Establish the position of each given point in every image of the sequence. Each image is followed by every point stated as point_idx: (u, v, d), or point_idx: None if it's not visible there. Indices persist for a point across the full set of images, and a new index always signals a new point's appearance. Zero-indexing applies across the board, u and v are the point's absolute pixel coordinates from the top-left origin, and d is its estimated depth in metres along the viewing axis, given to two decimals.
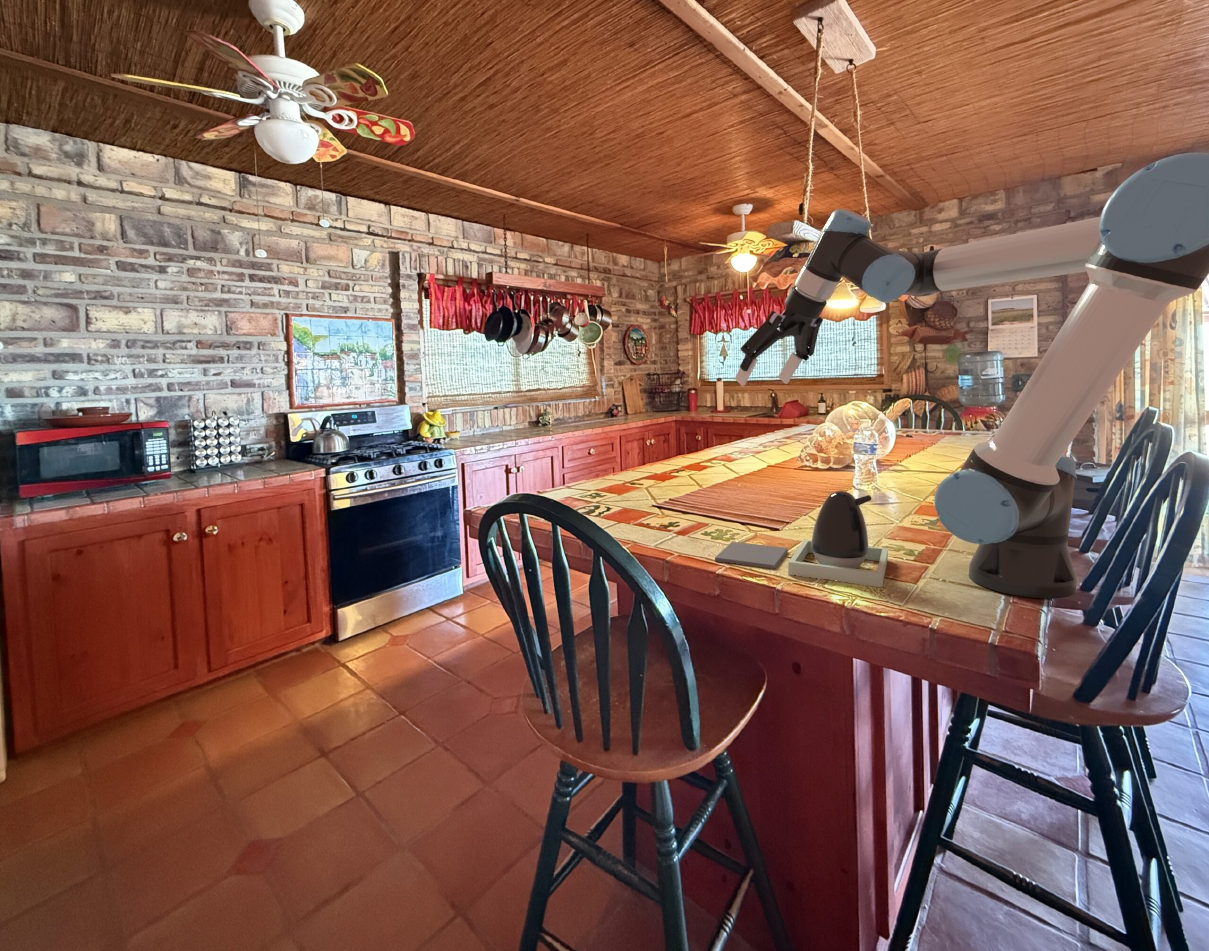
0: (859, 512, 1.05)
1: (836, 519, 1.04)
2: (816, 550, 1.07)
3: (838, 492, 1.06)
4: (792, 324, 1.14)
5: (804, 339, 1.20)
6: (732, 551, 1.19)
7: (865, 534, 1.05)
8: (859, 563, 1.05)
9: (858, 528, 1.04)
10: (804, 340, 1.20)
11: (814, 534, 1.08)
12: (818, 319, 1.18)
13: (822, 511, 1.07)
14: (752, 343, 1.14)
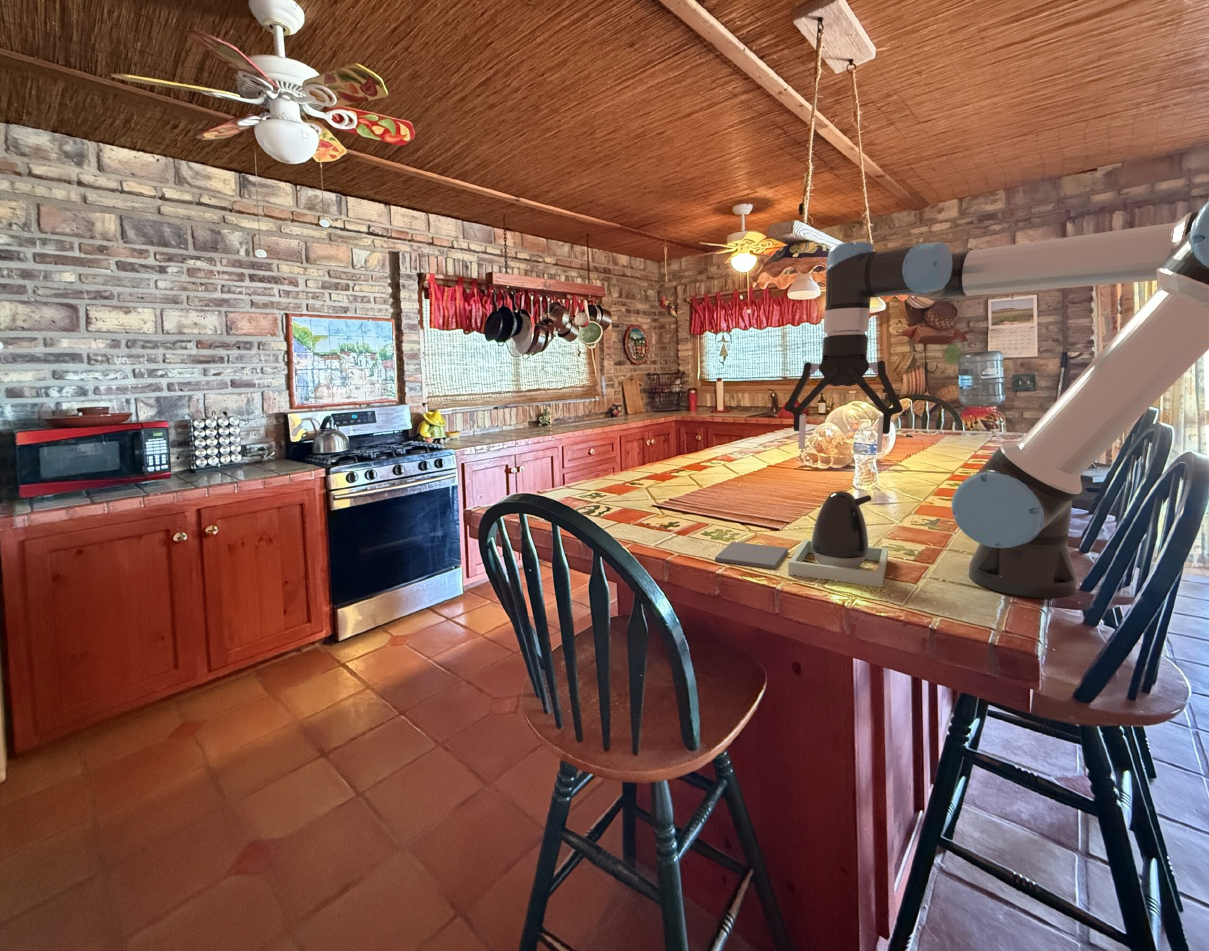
0: (859, 512, 1.05)
1: (836, 519, 1.04)
2: (816, 550, 1.07)
3: (838, 492, 1.06)
4: (831, 370, 1.03)
5: (868, 388, 1.01)
6: (732, 551, 1.19)
7: (865, 534, 1.05)
8: (859, 563, 1.05)
9: (858, 528, 1.04)
10: (869, 390, 1.01)
11: (814, 534, 1.08)
12: (878, 362, 1.00)
13: (822, 511, 1.07)
14: None
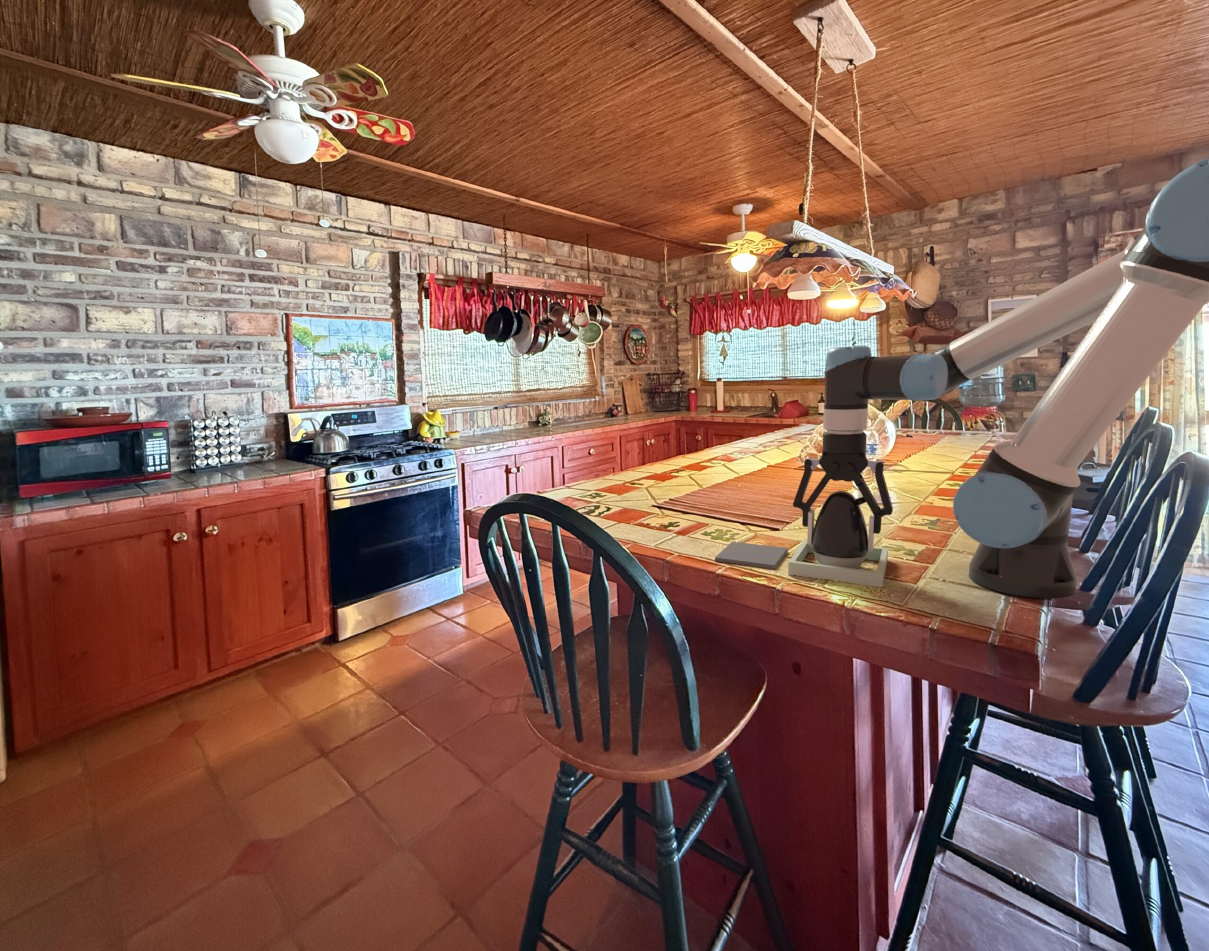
0: (859, 512, 1.05)
1: (836, 519, 1.04)
2: (816, 550, 1.07)
3: (838, 492, 1.06)
4: (830, 466, 1.06)
5: (863, 488, 1.04)
6: (732, 551, 1.19)
7: (865, 534, 1.05)
8: (859, 563, 1.05)
9: (858, 528, 1.04)
10: (864, 489, 1.04)
11: (814, 534, 1.08)
12: (876, 463, 1.02)
13: (822, 511, 1.07)
14: None
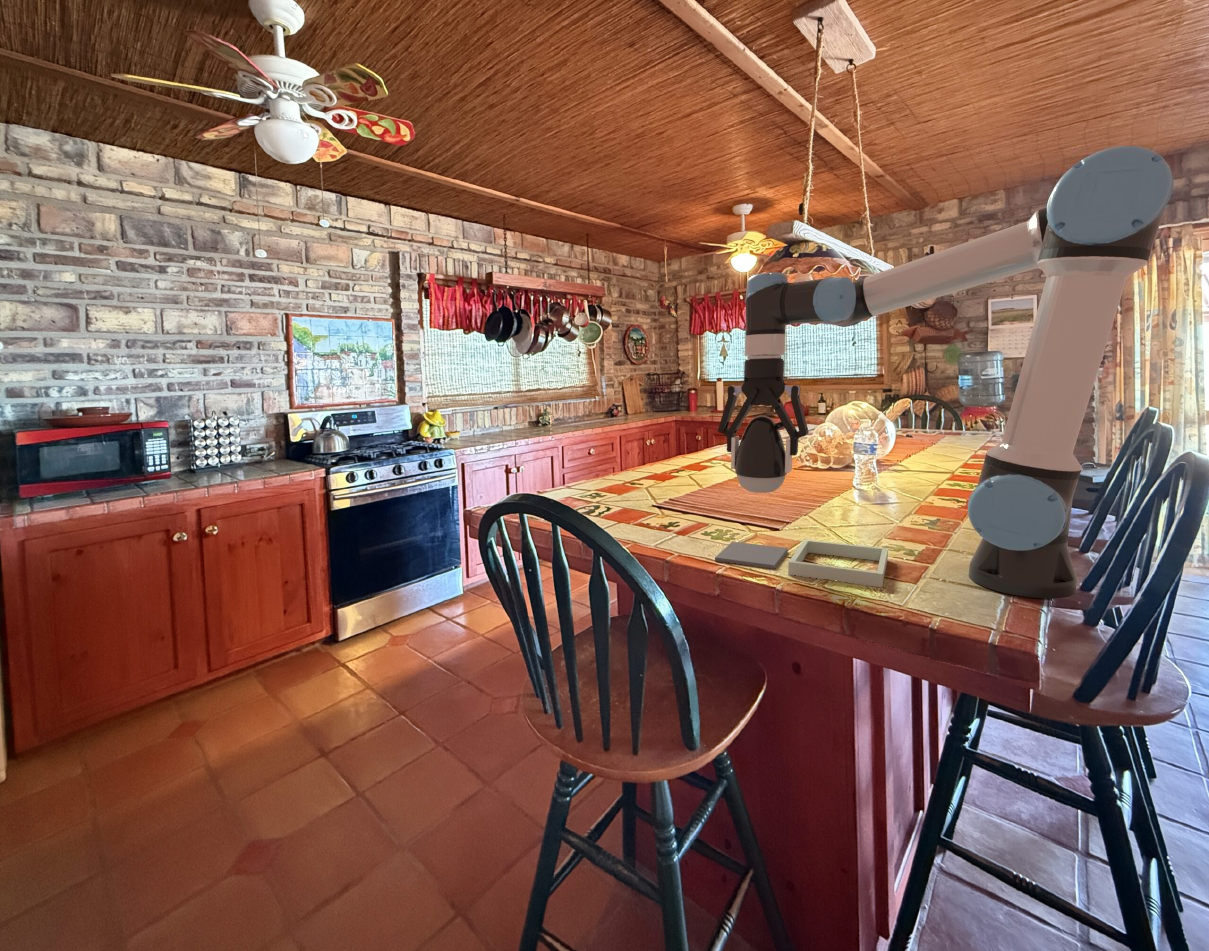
0: (777, 435, 1.10)
1: (755, 441, 1.09)
2: (738, 472, 1.12)
3: (759, 416, 1.11)
4: (751, 391, 1.11)
5: (780, 411, 1.09)
6: (732, 551, 1.19)
7: (783, 456, 1.10)
8: (777, 484, 1.10)
9: (775, 449, 1.09)
10: (781, 412, 1.09)
11: (737, 458, 1.13)
12: (792, 387, 1.07)
13: (743, 435, 1.12)
14: None
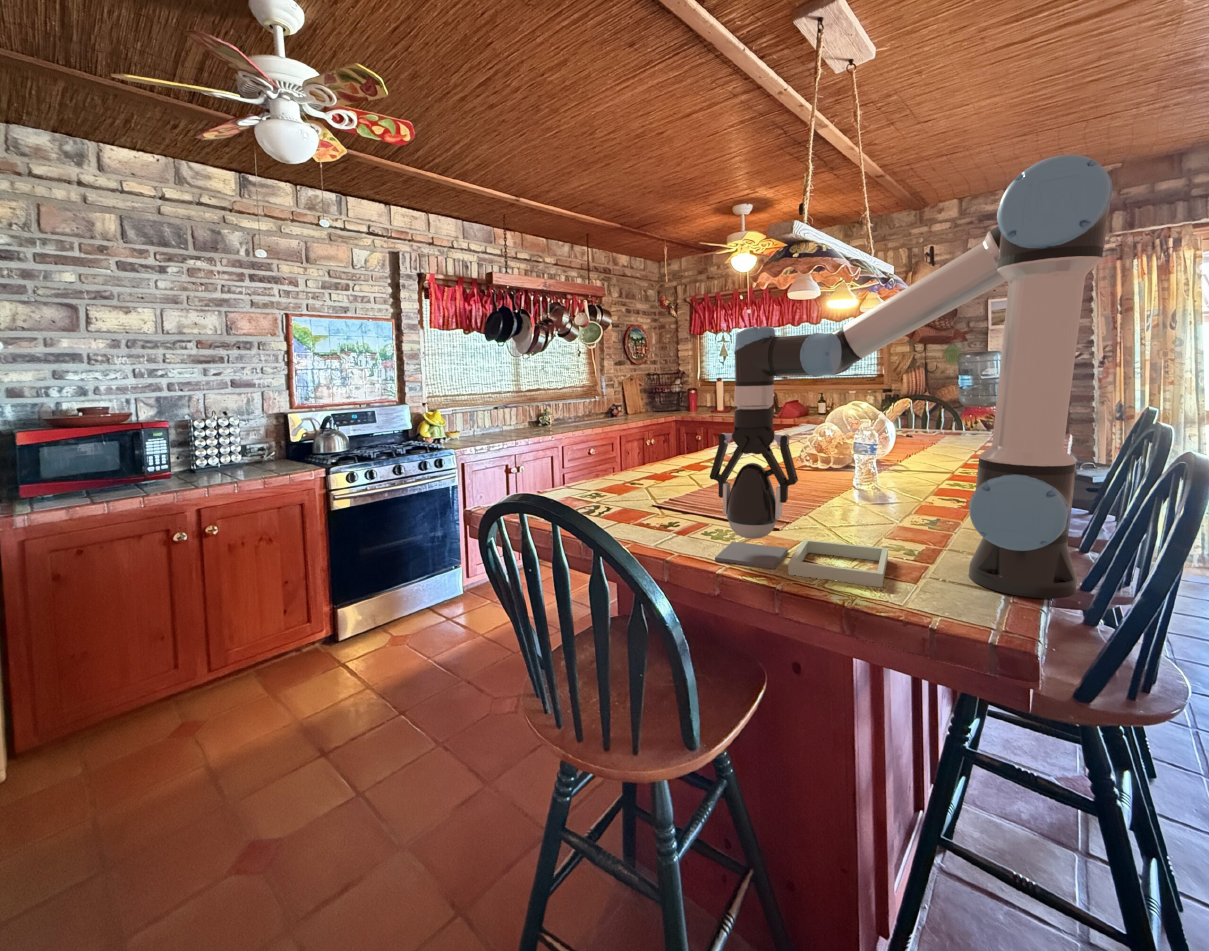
0: (767, 482, 1.12)
1: (745, 489, 1.12)
2: (729, 518, 1.15)
3: (749, 464, 1.14)
4: (741, 440, 1.13)
5: (770, 459, 1.11)
6: (732, 551, 1.19)
7: (773, 503, 1.12)
8: (768, 530, 1.13)
9: (765, 497, 1.11)
10: (771, 461, 1.11)
11: (728, 504, 1.16)
12: None
13: (734, 482, 1.15)
14: None
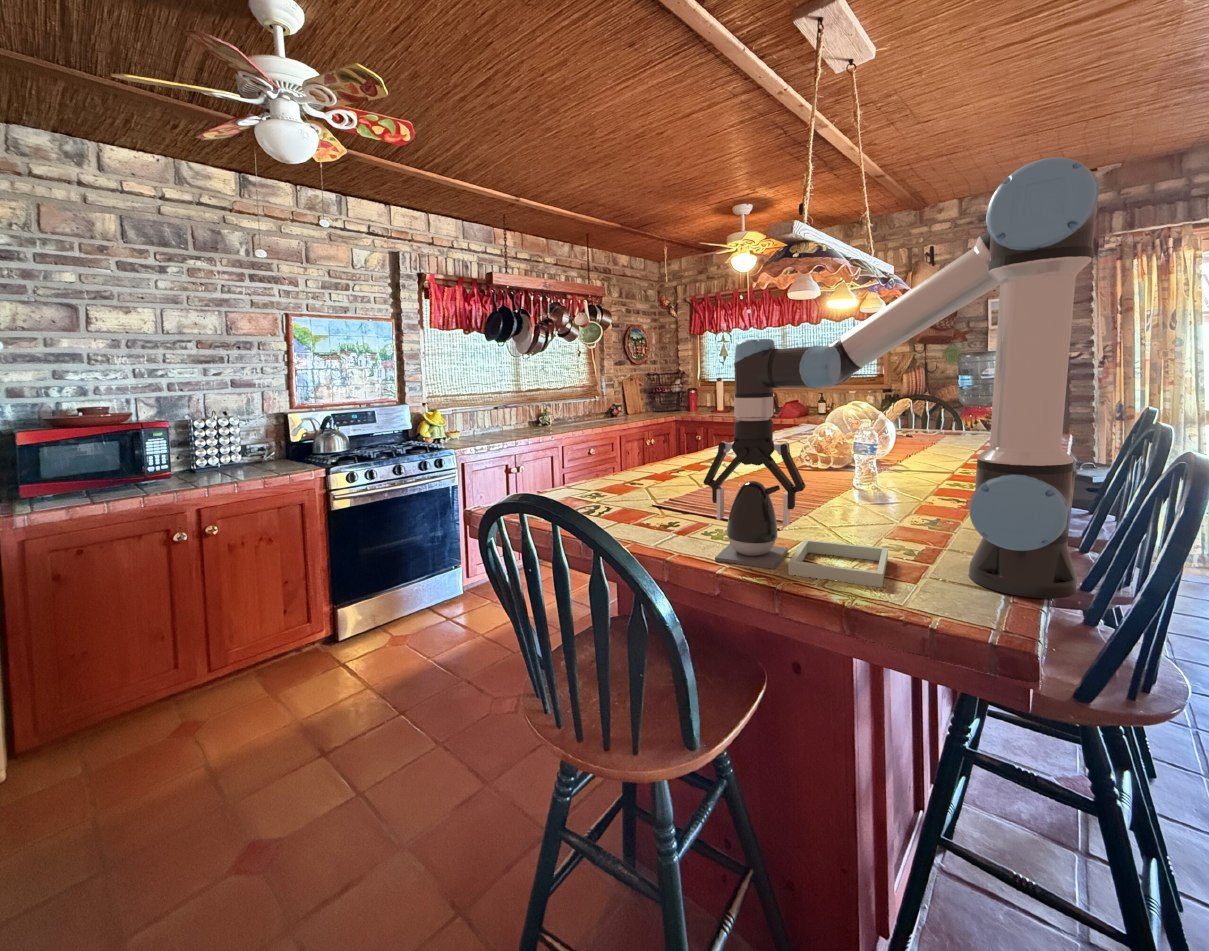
0: (767, 500, 1.13)
1: (746, 507, 1.12)
2: (729, 536, 1.15)
3: (749, 482, 1.14)
4: (741, 450, 1.13)
5: (773, 468, 1.11)
6: (732, 551, 1.19)
7: (773, 521, 1.13)
8: (767, 548, 1.13)
9: (765, 515, 1.12)
10: (774, 470, 1.11)
11: (728, 521, 1.16)
12: (781, 445, 1.10)
13: (735, 499, 1.15)
14: None
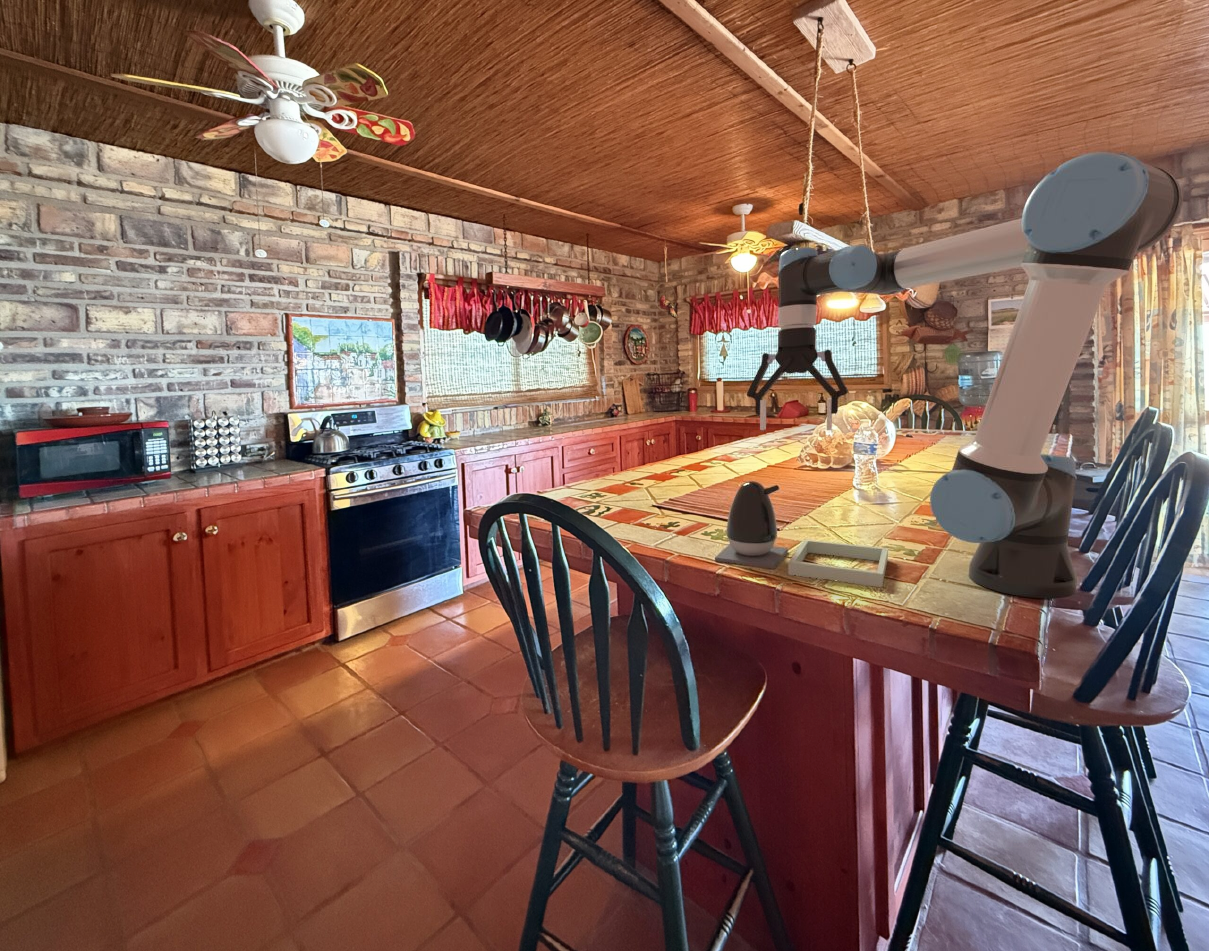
0: (767, 500, 1.13)
1: (745, 507, 1.12)
2: (729, 536, 1.15)
3: (748, 482, 1.14)
4: (785, 359, 1.18)
5: (817, 374, 1.16)
6: (732, 551, 1.19)
7: (772, 521, 1.13)
8: (767, 548, 1.13)
9: (765, 515, 1.12)
10: (818, 375, 1.16)
11: (728, 521, 1.17)
12: (825, 351, 1.15)
13: (734, 500, 1.15)
14: None
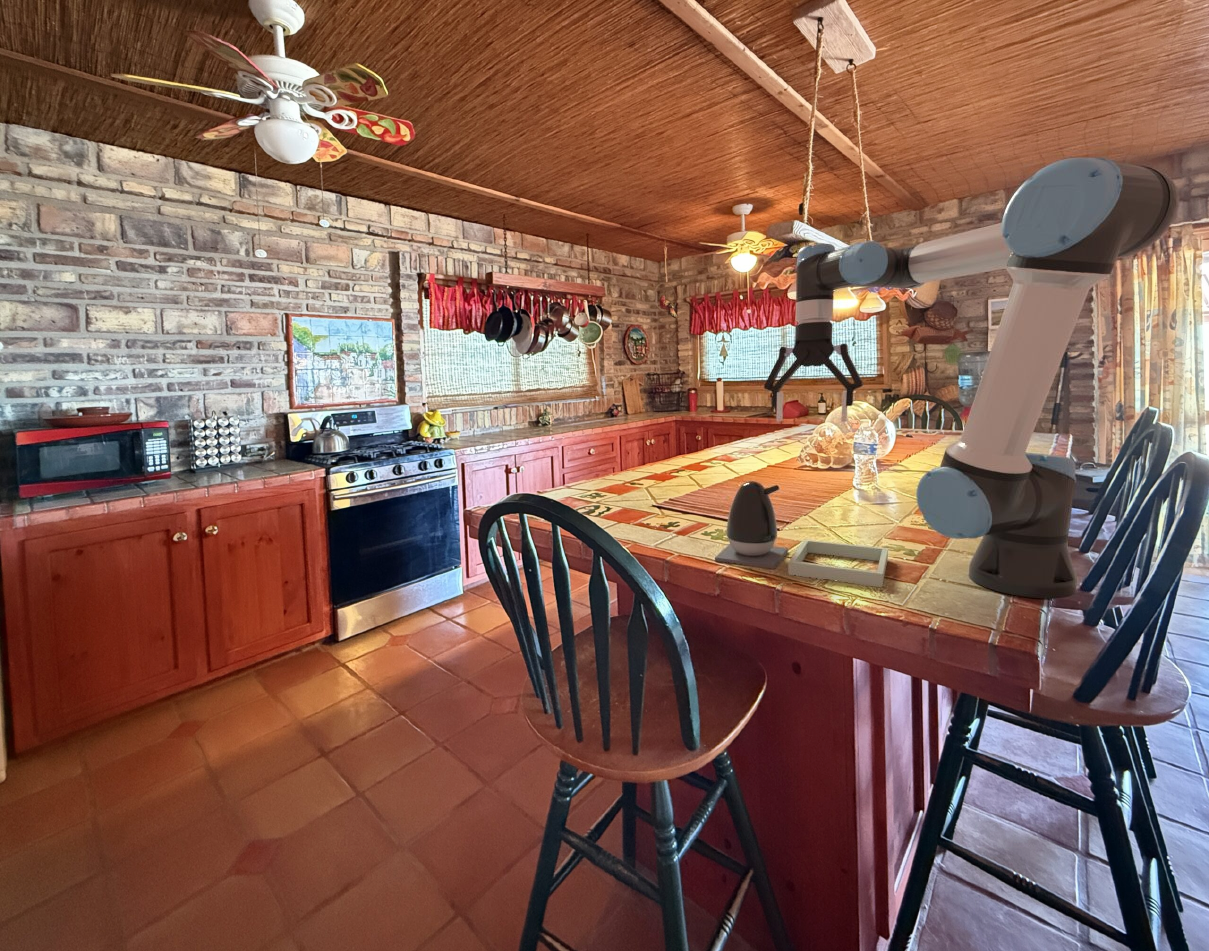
0: (767, 500, 1.13)
1: (745, 507, 1.12)
2: (729, 536, 1.15)
3: (749, 482, 1.14)
4: (802, 352, 1.21)
5: (833, 367, 1.19)
6: (732, 551, 1.19)
7: (772, 521, 1.13)
8: (767, 548, 1.13)
9: (765, 515, 1.12)
10: (834, 369, 1.19)
11: (728, 521, 1.17)
12: (841, 345, 1.18)
13: (734, 500, 1.15)
14: None
